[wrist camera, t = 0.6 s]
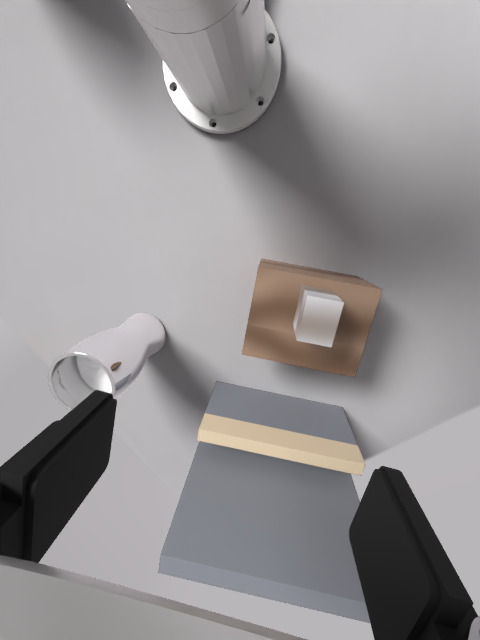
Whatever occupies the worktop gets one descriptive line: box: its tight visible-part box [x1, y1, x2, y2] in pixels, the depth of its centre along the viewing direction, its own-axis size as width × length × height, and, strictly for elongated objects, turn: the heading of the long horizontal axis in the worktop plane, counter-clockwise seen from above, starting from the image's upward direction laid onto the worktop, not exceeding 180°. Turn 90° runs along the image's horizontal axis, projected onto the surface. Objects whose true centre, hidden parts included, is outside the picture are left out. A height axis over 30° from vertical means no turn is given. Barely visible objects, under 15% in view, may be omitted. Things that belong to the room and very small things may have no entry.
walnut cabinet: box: [242, 259, 382, 377], centre depth 33 cm, size 9×12×14 cm
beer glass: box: [48, 313, 166, 411], centre depth 36 cm, size 7×7×15 cm
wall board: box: [158, 381, 370, 623], centre depth 34 cm, size 6×18×22 cm, turn 80°
